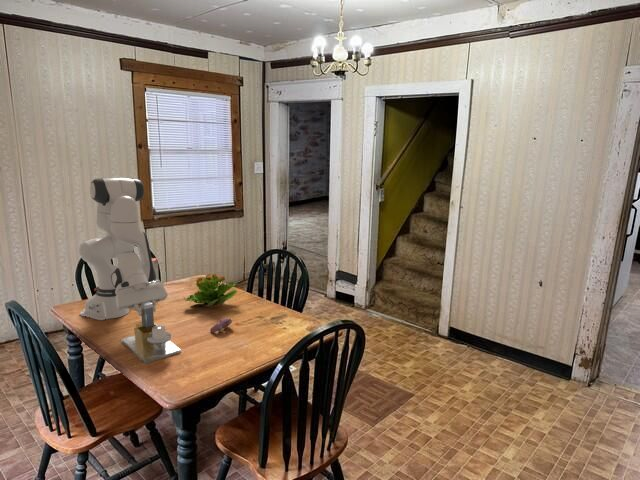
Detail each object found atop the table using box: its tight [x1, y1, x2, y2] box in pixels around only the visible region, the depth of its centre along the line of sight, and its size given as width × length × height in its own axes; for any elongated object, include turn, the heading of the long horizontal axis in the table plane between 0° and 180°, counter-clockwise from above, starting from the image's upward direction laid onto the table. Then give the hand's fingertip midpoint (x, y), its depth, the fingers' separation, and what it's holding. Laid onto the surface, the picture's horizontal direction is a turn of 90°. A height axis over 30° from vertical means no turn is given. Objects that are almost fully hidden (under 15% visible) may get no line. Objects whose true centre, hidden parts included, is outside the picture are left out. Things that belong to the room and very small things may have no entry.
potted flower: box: [183, 273, 238, 308], centre depth 227 cm, size 25×24×18 cm
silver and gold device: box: [121, 321, 182, 365], centre depth 178 cm, size 26×15×12 cm, turn 43°
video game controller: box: [209, 317, 233, 333], centre depth 198 cm, size 10×5×7 cm, turn 150°
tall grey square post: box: [140, 301, 155, 328], centre depth 178 cm, size 4×4×10 cm
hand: (147, 313), depth 178 cm, fingers closed on tall grey square post, 4 cm apart
